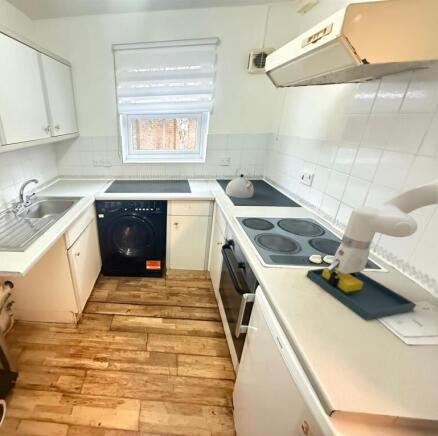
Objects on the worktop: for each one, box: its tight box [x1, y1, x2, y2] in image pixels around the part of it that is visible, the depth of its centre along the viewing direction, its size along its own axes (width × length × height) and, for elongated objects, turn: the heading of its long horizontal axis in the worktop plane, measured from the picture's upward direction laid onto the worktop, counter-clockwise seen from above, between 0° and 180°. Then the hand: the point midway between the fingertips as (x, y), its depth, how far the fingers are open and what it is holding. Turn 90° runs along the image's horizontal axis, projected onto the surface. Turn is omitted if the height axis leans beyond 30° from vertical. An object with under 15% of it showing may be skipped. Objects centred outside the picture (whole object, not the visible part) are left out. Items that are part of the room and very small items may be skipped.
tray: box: [306, 267, 417, 321], centre depth 88 cm, size 20×24×3 cm
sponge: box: [321, 268, 363, 294], centre depth 89 cm, size 10×6×4 cm, turn 12°
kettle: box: [224, 166, 255, 199], centre depth 198 cm, size 25×23×22 cm
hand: (340, 283), depth 89 cm, fingers closed on sponge, 6 cm apart
